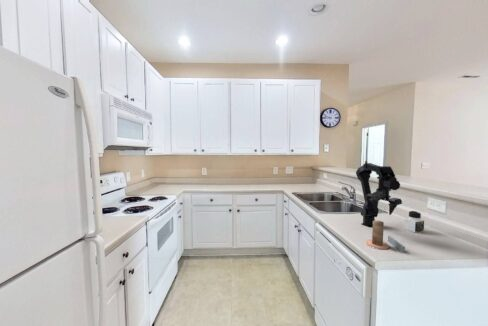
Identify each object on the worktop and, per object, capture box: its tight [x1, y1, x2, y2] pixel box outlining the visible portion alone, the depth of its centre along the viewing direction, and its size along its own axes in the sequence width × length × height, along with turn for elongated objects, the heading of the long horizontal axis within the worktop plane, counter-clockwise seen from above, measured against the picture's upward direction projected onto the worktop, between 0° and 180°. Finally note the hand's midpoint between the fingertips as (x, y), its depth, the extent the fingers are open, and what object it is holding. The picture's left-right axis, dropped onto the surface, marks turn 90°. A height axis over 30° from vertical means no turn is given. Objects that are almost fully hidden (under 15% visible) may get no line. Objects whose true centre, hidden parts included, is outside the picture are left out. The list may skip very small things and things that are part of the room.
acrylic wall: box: [387, 235, 406, 253], centre depth 122 cm, size 14×1×3 cm, turn 174°
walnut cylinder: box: [371, 219, 385, 246], centre depth 124 cm, size 5×5×12 cm
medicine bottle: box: [404, 210, 425, 234], centre depth 146 cm, size 7×7×12 cm
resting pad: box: [365, 239, 390, 250], centre depth 124 cm, size 11×11×1 cm
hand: (382, 212), depth 139 cm, fingers open, 9 cm apart
